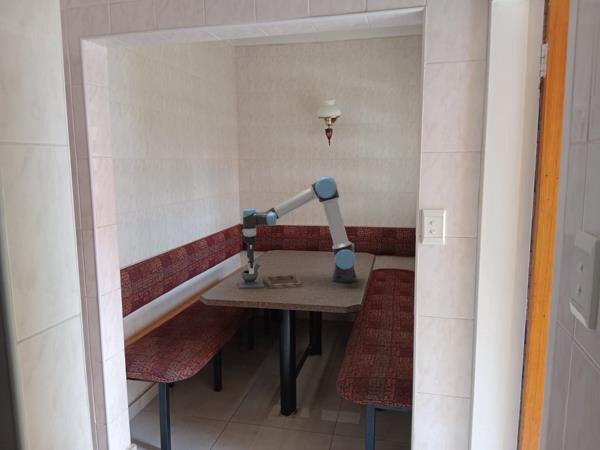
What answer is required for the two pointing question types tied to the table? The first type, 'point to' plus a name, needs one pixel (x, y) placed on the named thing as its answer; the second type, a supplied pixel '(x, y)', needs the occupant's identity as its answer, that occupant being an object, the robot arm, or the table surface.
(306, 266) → the table surface
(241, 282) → the rubber mat
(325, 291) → the table surface
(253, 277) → the mortar and pestle
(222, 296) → the table surface
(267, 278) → the frame
